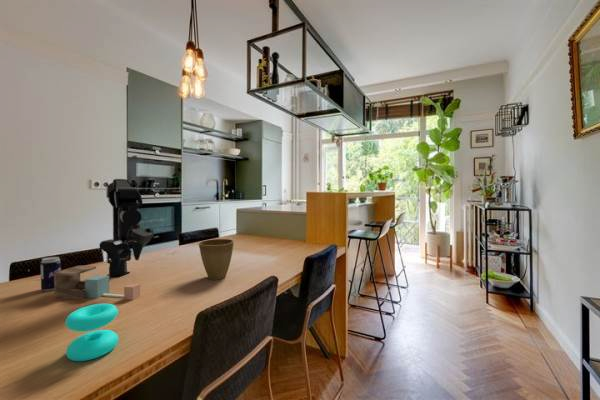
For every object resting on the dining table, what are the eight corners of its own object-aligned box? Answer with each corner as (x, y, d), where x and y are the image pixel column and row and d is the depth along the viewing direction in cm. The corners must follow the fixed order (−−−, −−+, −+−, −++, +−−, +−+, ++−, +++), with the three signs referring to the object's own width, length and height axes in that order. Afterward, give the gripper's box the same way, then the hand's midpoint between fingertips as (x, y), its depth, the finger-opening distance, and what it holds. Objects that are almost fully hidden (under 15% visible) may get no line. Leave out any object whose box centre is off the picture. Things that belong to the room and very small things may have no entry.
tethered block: (97, 292, 102) (97, 275, 102) (141, 295, 100) (141, 277, 99) (85, 297, 97) (84, 279, 97) (131, 300, 95) (131, 282, 94)
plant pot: (221, 270, 132) (221, 237, 131) (240, 276, 122) (240, 241, 122) (192, 277, 120) (192, 241, 120) (211, 285, 111) (211, 246, 110)
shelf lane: (78, 288, 106) (78, 265, 106) (105, 290, 104) (105, 267, 104) (54, 297, 97) (54, 272, 97) (83, 299, 95) (83, 274, 95)
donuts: (100, 299, 72) (127, 305, 68) (101, 336, 72) (127, 344, 68) (55, 315, 62) (82, 323, 59) (56, 357, 63) (83, 368, 59)
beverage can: (49, 292, 102) (48, 260, 101) (37, 291, 103) (36, 259, 102) (64, 287, 107) (64, 257, 107) (53, 285, 108) (52, 256, 108)
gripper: (127, 227, 90) (127, 273, 91) (163, 219, 108) (163, 258, 109) (97, 225, 92) (98, 270, 93) (138, 218, 110) (138, 256, 111)
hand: (127, 263), depth 101 cm, fingers open, 9 cm apart
